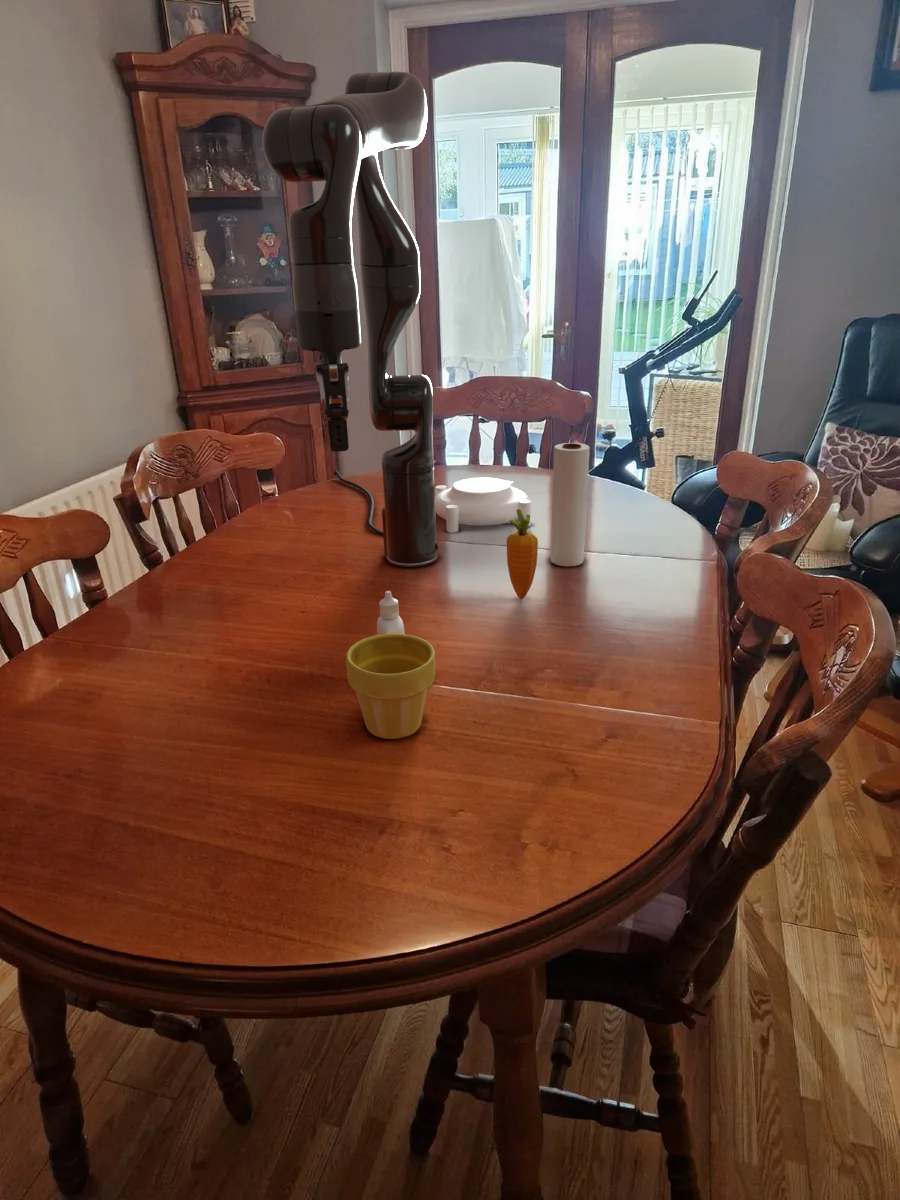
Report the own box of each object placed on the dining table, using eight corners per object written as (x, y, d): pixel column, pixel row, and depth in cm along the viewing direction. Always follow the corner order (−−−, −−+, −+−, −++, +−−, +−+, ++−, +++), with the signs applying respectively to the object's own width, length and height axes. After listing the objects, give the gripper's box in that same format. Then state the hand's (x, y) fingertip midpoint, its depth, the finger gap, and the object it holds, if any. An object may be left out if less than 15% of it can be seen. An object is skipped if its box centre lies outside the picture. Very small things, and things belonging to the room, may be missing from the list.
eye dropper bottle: (370, 682, 99) (364, 599, 94) (384, 662, 104) (379, 582, 99) (402, 686, 98) (397, 602, 93) (415, 665, 103) (411, 584, 98)
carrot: (535, 606, 121) (537, 516, 114) (504, 604, 122) (504, 515, 115) (538, 594, 125) (540, 507, 119) (508, 592, 126) (508, 506, 120)
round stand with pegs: (467, 495, 179) (466, 465, 176) (557, 511, 166) (558, 479, 163) (403, 522, 161) (402, 490, 158) (498, 542, 148) (498, 507, 145)
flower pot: (449, 708, 94) (447, 638, 90) (419, 755, 85) (416, 680, 81) (373, 695, 97) (368, 627, 93) (336, 740, 88) (329, 667, 84)
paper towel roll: (568, 570, 134) (574, 451, 125) (543, 561, 138) (546, 445, 130) (594, 559, 139) (601, 444, 130) (569, 551, 143) (574, 438, 134)
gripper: (295, 304, 95) (308, 433, 101) (293, 310, 82) (308, 458, 89) (355, 302, 96) (364, 430, 102) (362, 308, 83) (372, 454, 90)
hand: (338, 443), depth 95 cm, fingers open, 8 cm apart
